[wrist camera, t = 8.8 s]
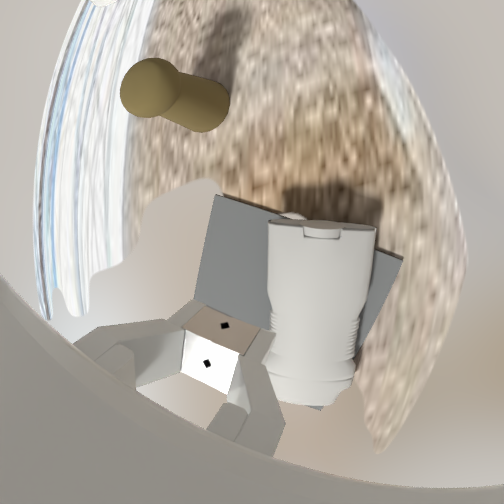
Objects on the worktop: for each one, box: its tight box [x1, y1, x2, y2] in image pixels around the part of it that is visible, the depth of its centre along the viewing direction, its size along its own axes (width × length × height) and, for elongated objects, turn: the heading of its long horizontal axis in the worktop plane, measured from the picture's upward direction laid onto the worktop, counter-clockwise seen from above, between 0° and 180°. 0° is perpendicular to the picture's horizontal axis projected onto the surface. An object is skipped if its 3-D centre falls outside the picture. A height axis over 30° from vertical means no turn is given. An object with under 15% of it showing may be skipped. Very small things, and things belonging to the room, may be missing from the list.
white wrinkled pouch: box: [265, 219, 376, 406], centre depth 28 cm, size 11×4×22 cm
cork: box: [120, 58, 230, 133], centre depth 22 cm, size 6×6×11 cm
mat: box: [194, 194, 403, 411], centre depth 31 cm, size 22×20×1 cm
